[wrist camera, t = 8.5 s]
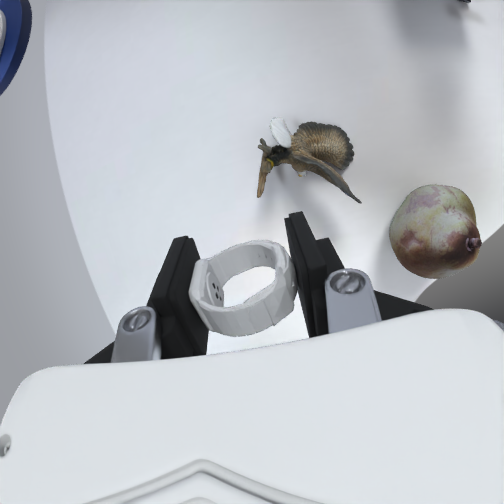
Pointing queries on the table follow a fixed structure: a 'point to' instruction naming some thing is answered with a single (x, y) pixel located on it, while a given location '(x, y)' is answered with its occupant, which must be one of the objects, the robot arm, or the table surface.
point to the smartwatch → (256, 307)
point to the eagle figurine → (308, 152)
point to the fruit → (435, 232)
